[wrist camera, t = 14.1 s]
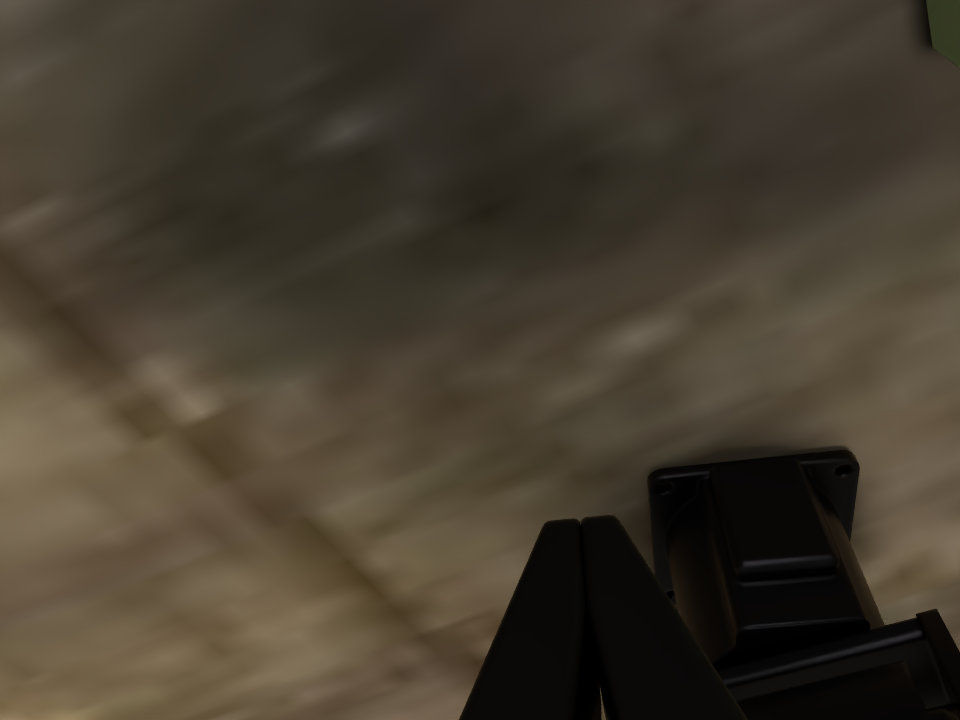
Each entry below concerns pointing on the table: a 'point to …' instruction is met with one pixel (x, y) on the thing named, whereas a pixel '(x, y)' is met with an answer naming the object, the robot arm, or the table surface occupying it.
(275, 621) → the table surface
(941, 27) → the green flat block
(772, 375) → the table surface
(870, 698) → the robot arm
